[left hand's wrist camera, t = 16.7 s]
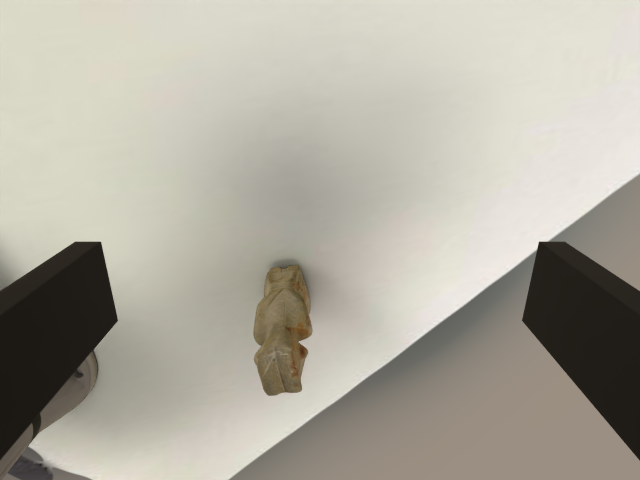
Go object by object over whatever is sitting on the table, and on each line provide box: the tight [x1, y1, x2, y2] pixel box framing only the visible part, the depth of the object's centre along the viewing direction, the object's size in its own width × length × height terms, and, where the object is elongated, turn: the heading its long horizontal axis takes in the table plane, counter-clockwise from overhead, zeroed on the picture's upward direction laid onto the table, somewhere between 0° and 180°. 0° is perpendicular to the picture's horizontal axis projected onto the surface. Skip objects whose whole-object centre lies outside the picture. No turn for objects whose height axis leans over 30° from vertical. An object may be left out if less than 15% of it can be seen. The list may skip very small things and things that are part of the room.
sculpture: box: [254, 265, 312, 396], centre depth 41 cm, size 6×7×15 cm
